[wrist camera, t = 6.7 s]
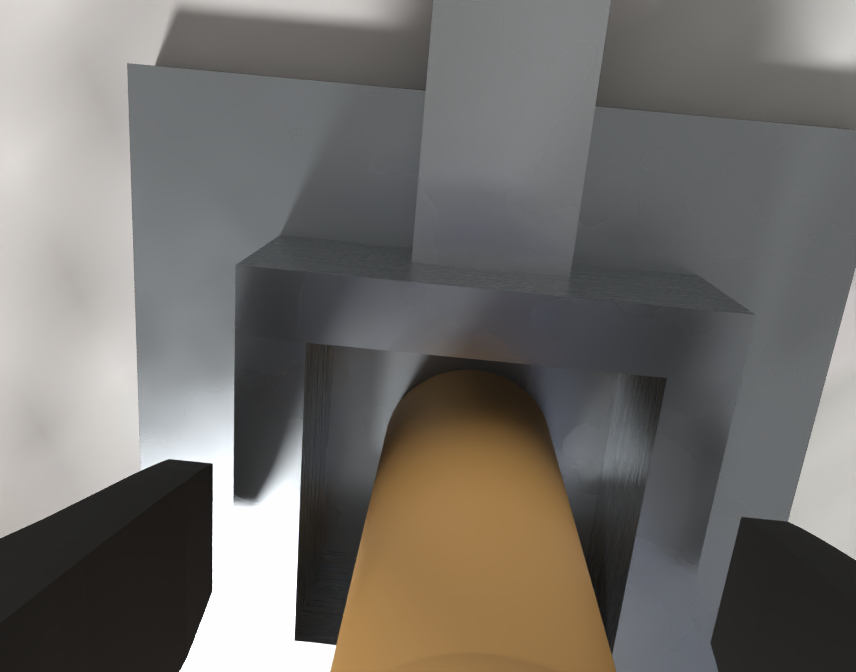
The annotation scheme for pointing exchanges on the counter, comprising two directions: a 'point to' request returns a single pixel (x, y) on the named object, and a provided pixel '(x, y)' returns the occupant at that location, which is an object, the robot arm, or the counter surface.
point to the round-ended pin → (470, 543)
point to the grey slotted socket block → (480, 313)
